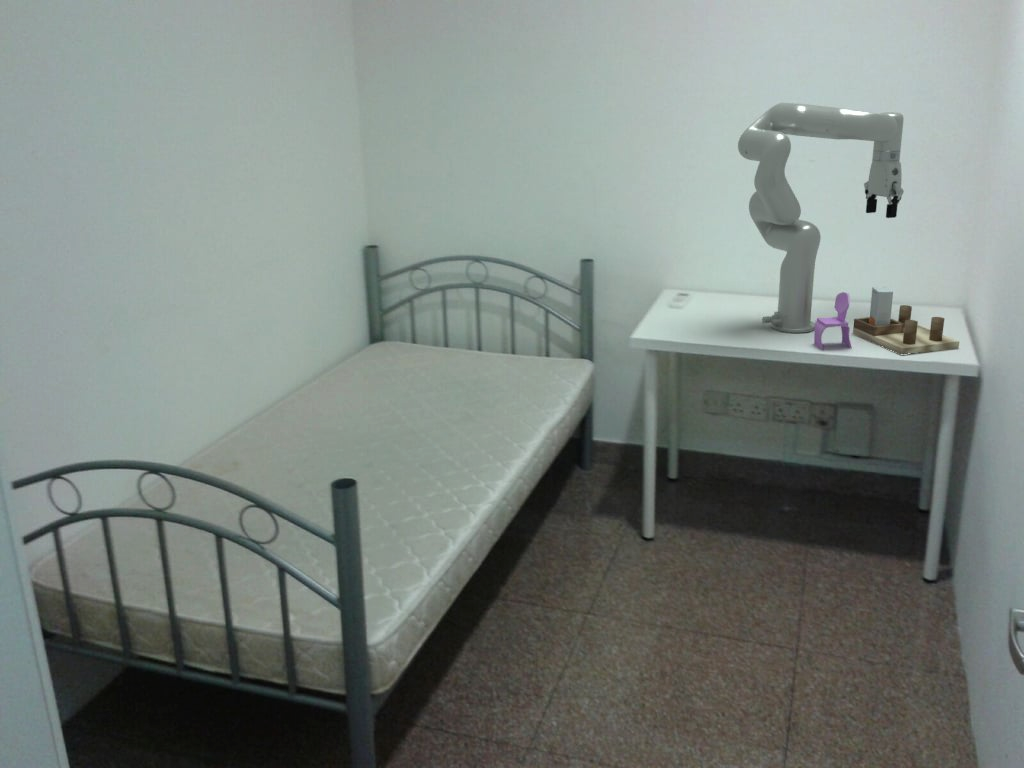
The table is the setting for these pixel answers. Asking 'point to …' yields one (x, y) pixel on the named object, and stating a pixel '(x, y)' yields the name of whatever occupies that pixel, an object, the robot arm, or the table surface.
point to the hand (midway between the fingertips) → (880, 215)
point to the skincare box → (881, 306)
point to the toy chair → (835, 321)
